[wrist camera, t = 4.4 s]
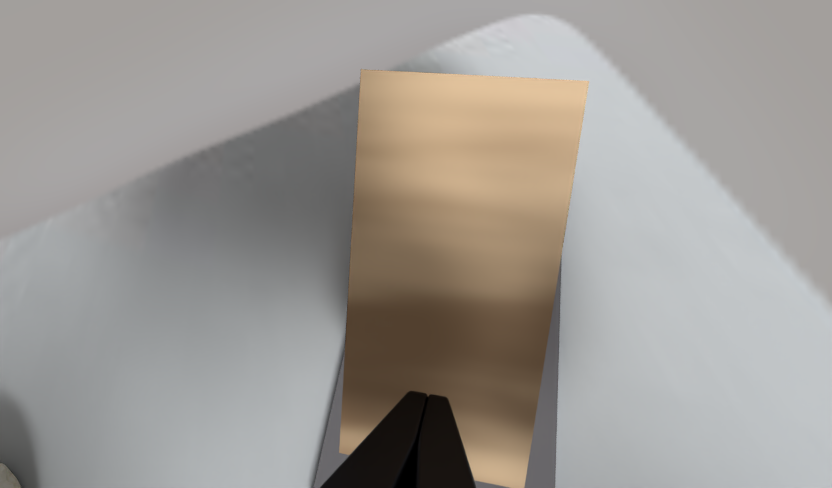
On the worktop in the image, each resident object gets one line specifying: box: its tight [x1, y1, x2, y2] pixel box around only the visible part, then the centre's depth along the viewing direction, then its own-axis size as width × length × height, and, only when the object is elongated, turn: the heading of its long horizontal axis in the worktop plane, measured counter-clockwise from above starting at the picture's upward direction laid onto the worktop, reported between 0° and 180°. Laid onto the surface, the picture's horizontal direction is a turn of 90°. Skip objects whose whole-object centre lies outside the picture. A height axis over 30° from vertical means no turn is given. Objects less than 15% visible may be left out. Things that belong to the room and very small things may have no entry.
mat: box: [313, 260, 561, 488], centre depth 16 cm, size 14×8×1 cm, turn 172°
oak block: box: [339, 69, 589, 488], centre depth 12 cm, size 4×5×10 cm
